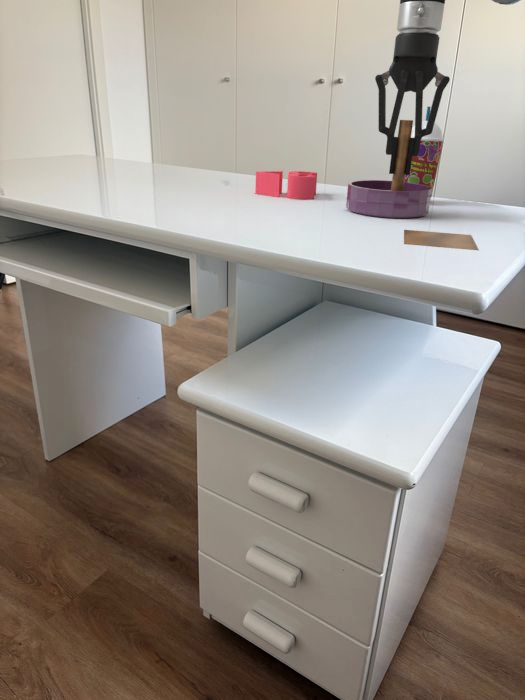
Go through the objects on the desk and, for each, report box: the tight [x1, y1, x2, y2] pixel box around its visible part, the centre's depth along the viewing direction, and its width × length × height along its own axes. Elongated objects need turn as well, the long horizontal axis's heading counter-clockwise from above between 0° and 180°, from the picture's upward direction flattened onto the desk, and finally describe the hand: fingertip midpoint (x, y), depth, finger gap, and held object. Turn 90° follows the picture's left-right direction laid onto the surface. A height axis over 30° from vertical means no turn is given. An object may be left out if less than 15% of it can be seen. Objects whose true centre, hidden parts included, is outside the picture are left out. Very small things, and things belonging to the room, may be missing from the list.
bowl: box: [345, 179, 433, 219], centre depth 107 cm, size 16×16×6 cm
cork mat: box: [403, 229, 480, 251], centre depth 86 cm, size 11×11×1 cm
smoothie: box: [405, 106, 445, 197], centre depth 119 cm, size 8×8×20 cm
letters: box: [254, 170, 318, 200], centre depth 126 cm, size 14×10×5 cm
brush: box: [388, 119, 414, 191], centre depth 103 cm, size 5×5×16 cm
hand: (399, 173), depth 104 cm, fingers closed on brush, 2 cm apart
